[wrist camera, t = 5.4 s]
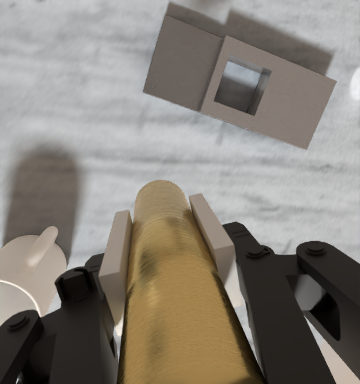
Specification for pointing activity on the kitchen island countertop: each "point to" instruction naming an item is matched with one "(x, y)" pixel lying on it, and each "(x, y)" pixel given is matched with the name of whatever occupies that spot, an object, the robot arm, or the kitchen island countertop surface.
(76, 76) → the kitchen island countertop surface
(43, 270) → the mug
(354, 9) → the kitchen island countertop surface
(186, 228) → the pin
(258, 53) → the slotted metal plate
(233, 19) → the kitchen island countertop surface
